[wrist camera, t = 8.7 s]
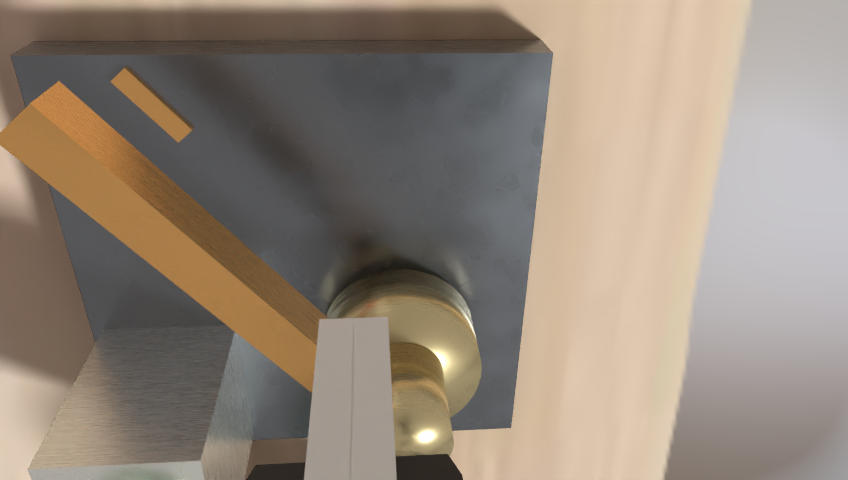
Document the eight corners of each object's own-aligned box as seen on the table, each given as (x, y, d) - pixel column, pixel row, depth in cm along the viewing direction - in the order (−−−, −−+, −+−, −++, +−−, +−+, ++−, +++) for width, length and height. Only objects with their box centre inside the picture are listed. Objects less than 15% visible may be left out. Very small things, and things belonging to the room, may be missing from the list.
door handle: (501, 336, 32) (532, 448, 26) (389, 408, 34) (394, 529, 28) (164, -12, 23) (95, 38, 17) (38, 112, 25) (-65, 196, 19)
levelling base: (504, 401, 38) (552, 592, 28) (137, 417, 36) (55, 625, 27) (541, 40, 28) (636, 144, 18) (33, 41, 26) (-160, 157, 16)
